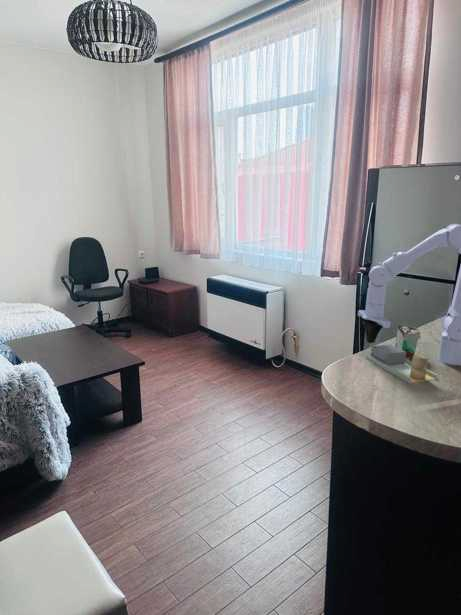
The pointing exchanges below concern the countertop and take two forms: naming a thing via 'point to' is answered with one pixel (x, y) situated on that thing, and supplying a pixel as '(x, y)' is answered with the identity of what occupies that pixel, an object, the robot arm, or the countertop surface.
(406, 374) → the runway
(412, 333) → the food container
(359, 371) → the countertop surface
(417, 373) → the roller pin
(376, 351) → the slab
